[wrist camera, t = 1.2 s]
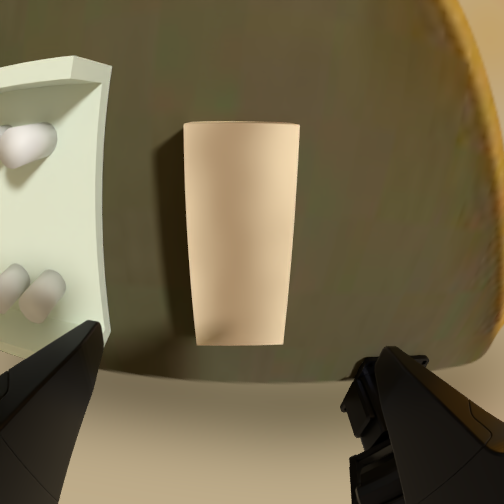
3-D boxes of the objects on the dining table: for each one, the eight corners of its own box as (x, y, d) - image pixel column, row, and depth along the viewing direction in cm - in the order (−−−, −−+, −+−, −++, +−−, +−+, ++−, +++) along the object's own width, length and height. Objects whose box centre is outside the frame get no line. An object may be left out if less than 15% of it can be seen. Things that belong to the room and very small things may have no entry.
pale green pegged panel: (112, 66, 13) (74, 55, 9) (110, 331, 20) (91, 376, 16) (-16, 82, 12) (-62, 86, 8) (4, 307, 19) (-24, 341, 15)
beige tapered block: (288, 122, 16) (299, 125, 13) (276, 314, 21) (282, 344, 18) (192, 121, 15) (183, 123, 13) (200, 315, 21) (196, 345, 18)
